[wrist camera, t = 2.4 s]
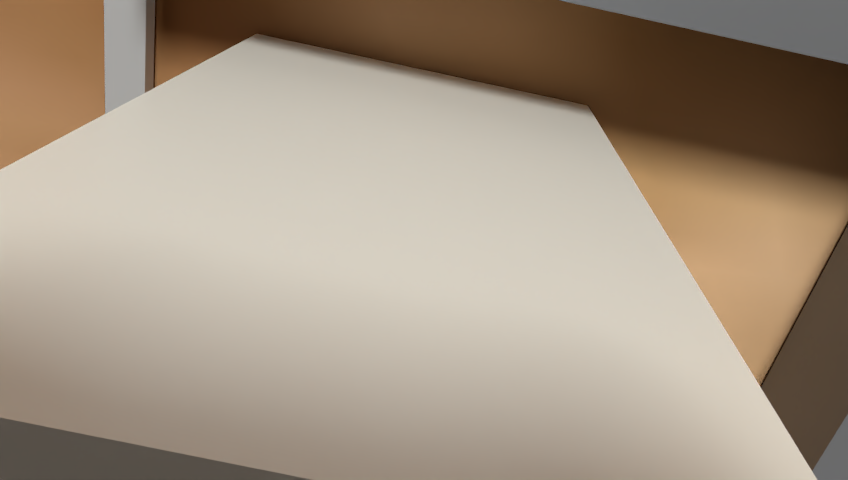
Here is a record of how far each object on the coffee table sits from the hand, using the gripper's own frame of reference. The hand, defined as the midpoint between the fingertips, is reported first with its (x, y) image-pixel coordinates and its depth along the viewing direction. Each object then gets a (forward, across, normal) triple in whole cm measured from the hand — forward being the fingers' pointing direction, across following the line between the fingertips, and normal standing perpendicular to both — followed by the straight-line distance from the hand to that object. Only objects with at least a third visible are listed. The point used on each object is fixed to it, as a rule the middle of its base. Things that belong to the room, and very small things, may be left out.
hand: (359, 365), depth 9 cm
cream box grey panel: (+3, 0, 0) cm, 3 cm away
